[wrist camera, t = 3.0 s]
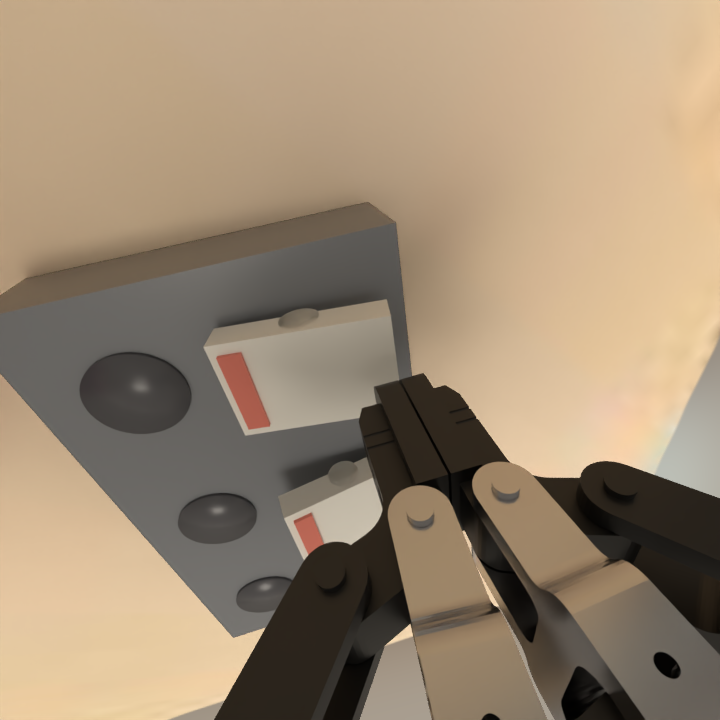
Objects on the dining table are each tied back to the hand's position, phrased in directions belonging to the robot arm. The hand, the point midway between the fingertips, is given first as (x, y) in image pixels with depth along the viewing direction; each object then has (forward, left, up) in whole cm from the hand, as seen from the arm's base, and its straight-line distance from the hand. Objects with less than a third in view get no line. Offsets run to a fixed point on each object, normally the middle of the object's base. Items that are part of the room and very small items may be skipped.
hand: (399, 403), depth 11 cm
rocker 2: (-2, -8, -3) cm, 9 cm away
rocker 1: (-2, 0, -3) cm, 4 cm away
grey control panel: (-5, -8, -8) cm, 13 cm away
